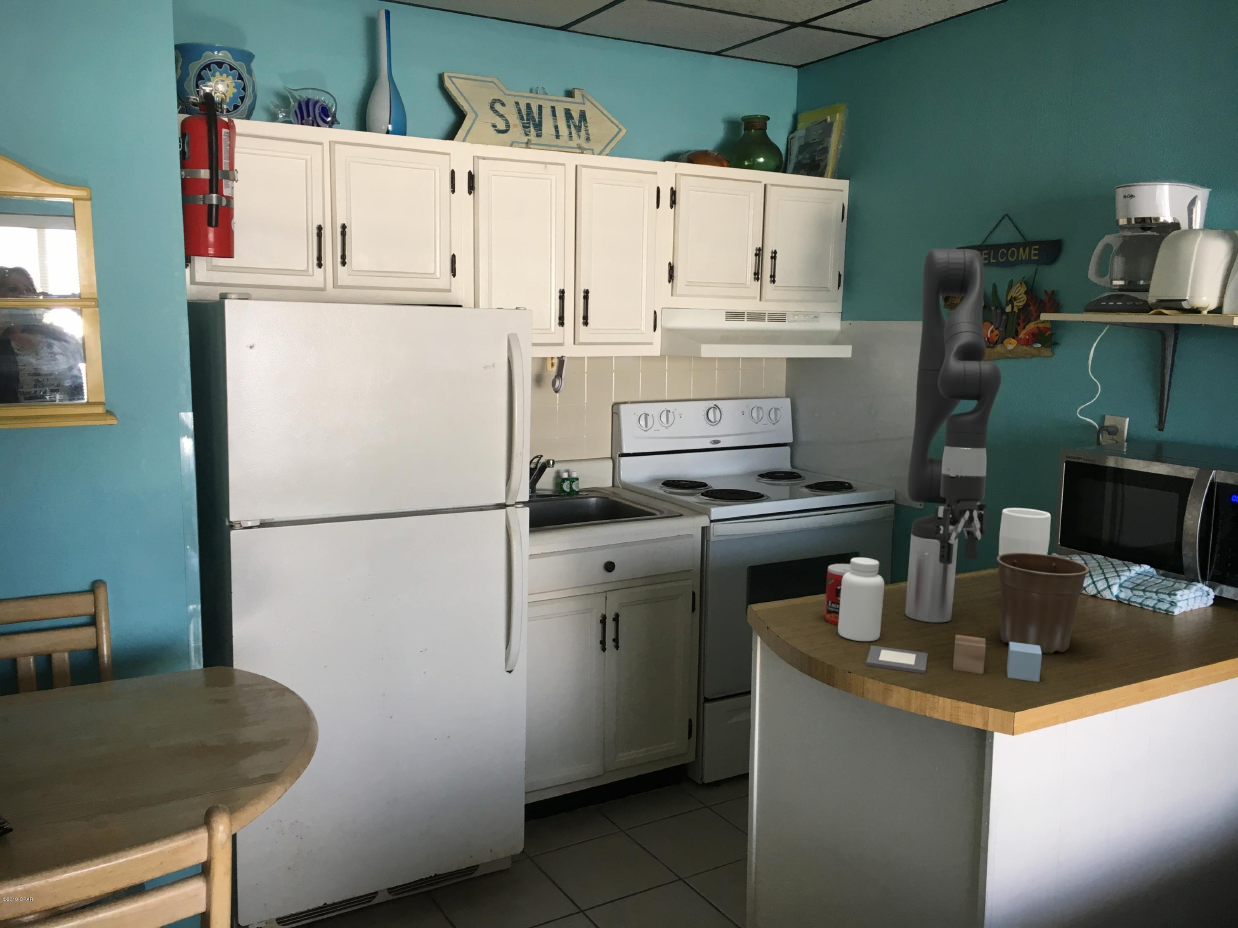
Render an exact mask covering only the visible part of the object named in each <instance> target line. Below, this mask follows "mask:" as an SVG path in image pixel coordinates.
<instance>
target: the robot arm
mask: <svg viewBox="0 0 1238 928" xmlns="http://www.w3.org/2000/svg"><path fill="white" fill-rule="evenodd" d="M984 277H985V269H984V260H983V257H982V255H981V253H980V251H978V250H976V249H969V248H932V249H929V251H928V252H927V254H926V256H925V260H924V265H923V279H922V318H921V319H922V321H921V324H922V325H921V336H920V337H921V338H920V346H919V355H918V365H917V368H918V369H917V375H916V376H917V377H916V391H915V392H916V393H915V395H916V397H915V417H914V428H913V429H914V430H913V436H912V437H913V438H912V444H911V453H910V459H909V466H908V467H909V468H908V477H907V494H908V497H909V500H911V501H912V502H915V503H924V504H926V503H928V504H939V505H936V506H935V508H934V513H932V514H930V515H926V516H923V517H922V516H921V517H919V518H916V519H914V520H913V521H912V524H911V531H910V532H911V535H910V543H909V544H910V548H909V559H908V560H909V561H908V575H907V585H906V594H905V595H906V597H905V599H906V600H905V609H904V610H905V611H904V615H905V616H907V617H908V618H910V619H912V620H916V621H920V622H928V623H946V622H950V621H951V620H952V613H953V612H952V611H953V601H954V592H955V591H954V590H955V580H956V579H955V578H956V567H957V557H958V556H957V553H958V552H957V551H958V542H959V541H958V540H959V534H960V533H961V531H963V533H964V536H965V538H964V552H963V553H964V554H963V557H964V559H966V560H971V561H976V560H977V559H978V554H979V553H978V549H979V541H980V540H981V538H982V536H985V535H986V534H987V519H988V516H987V515H988V504H987V503H985V502H978V501H982V500H984V499H985V493H986V491H985V490H986V477H987V476H986V475H987V437H988V425H989V421H990V420H989V419H990V416H991V413H992V409H993V405H994V403H995V401H996V398H997V395H998V393H999V390H1000V387H1001V384H1002V372H1001V370H1000V368H999V366H998V365H997V364H996V363H995V362H993V361H989V360H988V361H986V360H985V361H984V358H985V357H986V352H987V351H986V350H987V348H986V347H987V346H986V341H985V336H984V335H985V334H984V327H983V309H984V308H983V307H984V285H985V283H984V280H985V279H984ZM940 296H943V297H944V296H945V297H946V296H947V297H948V296H949V297H964V296H965V297H964V298H963V300H962V301H961V302H960V303H959V304H958V305H957V306H956V308H954V310H953V311H952V312H951V313H950V315H949V316H948V318H947V319H946V320H945V318H944V313H943V311H942V306H941V300H940V299H941V297H940ZM961 401H976V405H975V406H974V408H973V409H971V410H969V411H965V412H960V413H953V412H954V411H955V410H956V408H957V407H958V406H959V404H960V403H961ZM952 413H953V414H952ZM944 423H945V436H944V437H945V438H944V447H943V448H944V450H943V455H942V458H930V457H928V454H929V452H930V448H931V445H932V443H933V440H934V439H935V437H936V435H937V434H938V432H939V431H940V429H941V428H942V426H943V425H944Z"/></svg>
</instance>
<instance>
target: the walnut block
mask: <svg viewBox="0 0 1238 928" xmlns="http://www.w3.org/2000/svg"><path fill="white" fill-rule="evenodd" d="M986 649H987V648H986V638H985V637H984V638H983V637H977V636H976V637H975V636H968V635H962V634H955V639H954V649H953V650H954V651H953V665H952V671H960V672H966V673H974V674H980V675H981V674H982V675H983V674H984V669H985V660H986V659H985V656H986Z"/></svg>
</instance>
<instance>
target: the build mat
mask: <svg viewBox="0 0 1238 928" xmlns="http://www.w3.org/2000/svg"><path fill="white" fill-rule="evenodd" d="M928 656H929V655H928V652H922V651H914V650H908V649H898V648H893V647H885V646H884V647H883V646H880V645H879V646H877V645H870V650H869V652H868V655H867V658H866V661H865V666H867V667H868V666H869V667H875V668H882V669H888V670H889V669H890V670H896V671H903V672H911V673H916V674H924V675H925V674H926V669H927V663H928Z"/></svg>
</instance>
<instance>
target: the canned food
mask: <svg viewBox="0 0 1238 928" xmlns="http://www.w3.org/2000/svg"><path fill="white" fill-rule="evenodd" d="M850 571H851V570H850V563H834V564H830V565H828V566H827V573H826V589H825V604H824V606H825V607H824V617H825V620H826V622H827V623H830V624H832V625H836V626H838V623H839V611H840V598H841V586H842V578H843V576H844V574H846V573H847V572H850Z"/></svg>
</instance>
